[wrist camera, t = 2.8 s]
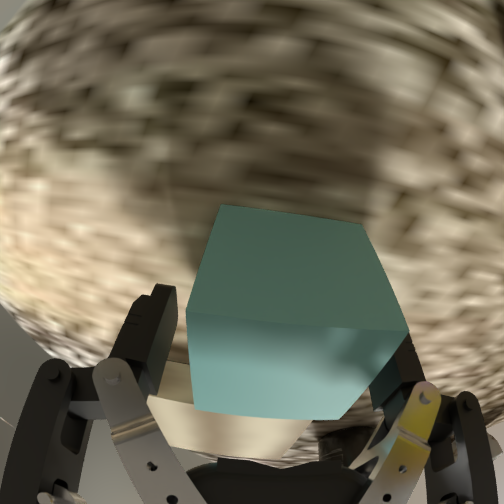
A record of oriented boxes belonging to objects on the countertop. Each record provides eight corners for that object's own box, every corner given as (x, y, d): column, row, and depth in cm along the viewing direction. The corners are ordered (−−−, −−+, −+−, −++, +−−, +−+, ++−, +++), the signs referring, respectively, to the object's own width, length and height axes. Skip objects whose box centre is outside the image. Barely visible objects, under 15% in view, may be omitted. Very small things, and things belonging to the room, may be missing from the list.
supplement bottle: (324, 448, 29) (326, 533, 19) (311, 433, 25) (312, 536, 15) (379, 436, 27) (388, 523, 17) (376, 419, 24) (388, 525, 14)
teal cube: (361, 223, 12) (409, 331, 7) (325, 319, 15) (338, 419, 10) (221, 203, 12) (185, 310, 7) (215, 307, 15) (194, 409, 10)
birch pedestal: (313, 378, 19) (316, 415, 16) (280, 433, 25) (279, 459, 23) (142, 355, 18) (130, 390, 16) (163, 418, 25) (157, 443, 23)
